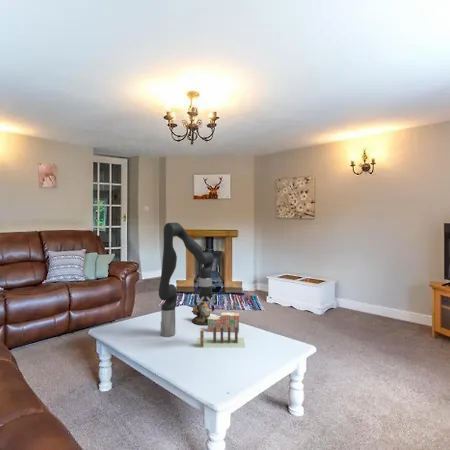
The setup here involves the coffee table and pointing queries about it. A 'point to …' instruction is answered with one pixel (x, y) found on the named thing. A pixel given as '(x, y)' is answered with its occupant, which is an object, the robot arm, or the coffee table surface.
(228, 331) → the domino
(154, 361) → the coffee table surface
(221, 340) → the domino
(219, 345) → the mat
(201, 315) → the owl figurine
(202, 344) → the domino
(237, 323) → the stack of blocks
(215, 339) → the domino
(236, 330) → the domino
